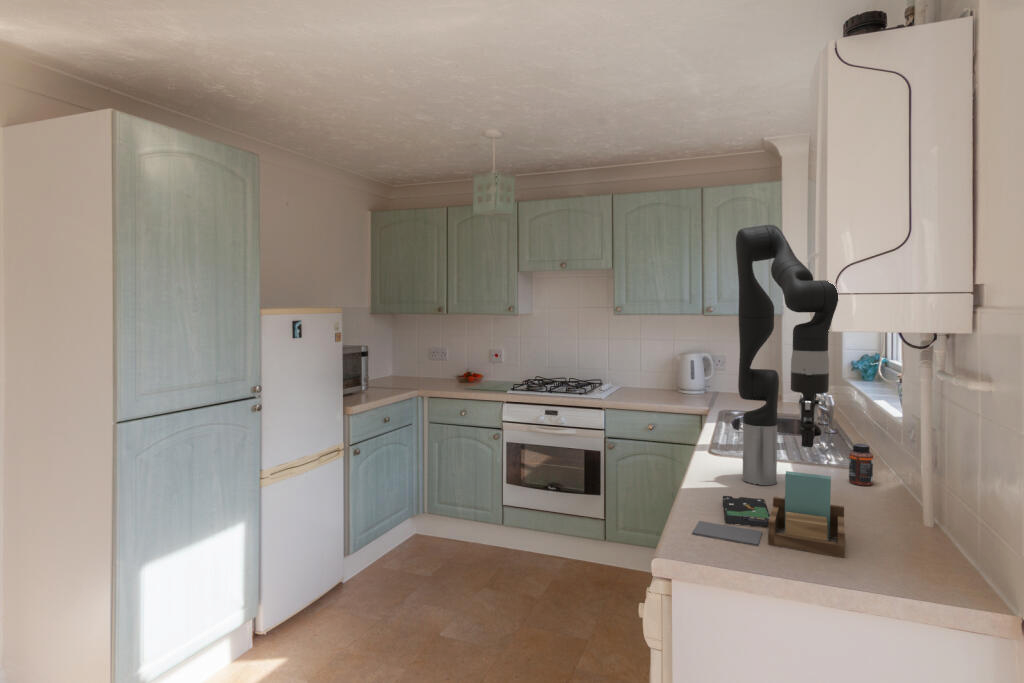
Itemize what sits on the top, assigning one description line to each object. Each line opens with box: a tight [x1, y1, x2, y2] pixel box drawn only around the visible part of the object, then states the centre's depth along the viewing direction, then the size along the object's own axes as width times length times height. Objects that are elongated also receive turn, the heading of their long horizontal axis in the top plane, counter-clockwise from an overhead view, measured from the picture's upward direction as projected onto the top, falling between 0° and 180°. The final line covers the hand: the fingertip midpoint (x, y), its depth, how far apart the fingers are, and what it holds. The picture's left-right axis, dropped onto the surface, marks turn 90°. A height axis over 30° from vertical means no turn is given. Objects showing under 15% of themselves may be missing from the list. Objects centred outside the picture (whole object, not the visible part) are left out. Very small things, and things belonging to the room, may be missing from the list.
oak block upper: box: [784, 512, 827, 539], centre depth 125 cm, size 5×8×3 cm, turn 63°
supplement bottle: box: [848, 443, 874, 487], centre depth 166 cm, size 6×6×11 cm
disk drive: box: [722, 495, 771, 528], centre depth 143 cm, size 10×3×15 cm
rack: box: [767, 496, 846, 558], centre depth 127 cm, size 12×14×7 cm
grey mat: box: [691, 520, 763, 547], centre depth 131 cm, size 8×14×1 cm, turn 61°
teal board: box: [783, 470, 832, 542], centre depth 129 cm, size 2×9×14 cm, turn 61°
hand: (808, 442), depth 128 cm, fingers open, 8 cm apart
